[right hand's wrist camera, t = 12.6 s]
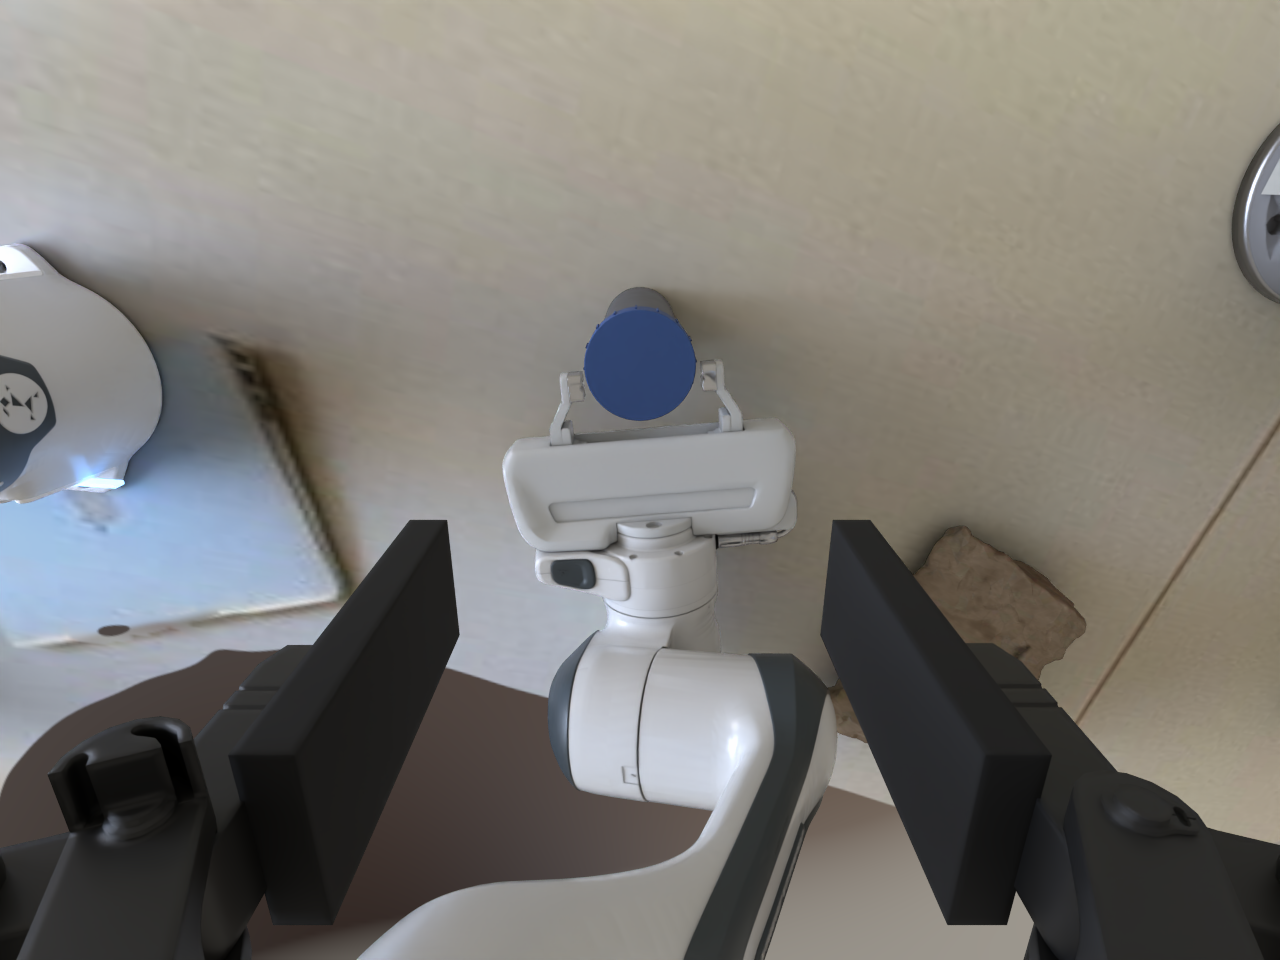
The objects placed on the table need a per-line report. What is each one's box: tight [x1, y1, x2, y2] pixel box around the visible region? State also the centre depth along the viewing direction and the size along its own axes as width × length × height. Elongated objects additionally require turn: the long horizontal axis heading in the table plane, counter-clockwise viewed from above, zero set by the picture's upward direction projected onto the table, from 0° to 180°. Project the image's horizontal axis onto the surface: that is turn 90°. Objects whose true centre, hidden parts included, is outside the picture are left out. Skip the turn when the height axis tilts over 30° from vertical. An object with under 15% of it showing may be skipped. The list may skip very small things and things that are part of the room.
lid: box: [584, 305, 697, 421], centre depth 36 cm, size 6×6×2 cm
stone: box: [828, 526, 1086, 743], centre depth 58 cm, size 21×15×6 cm
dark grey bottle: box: [604, 287, 675, 320], centre depth 43 cm, size 5×5×16 cm
